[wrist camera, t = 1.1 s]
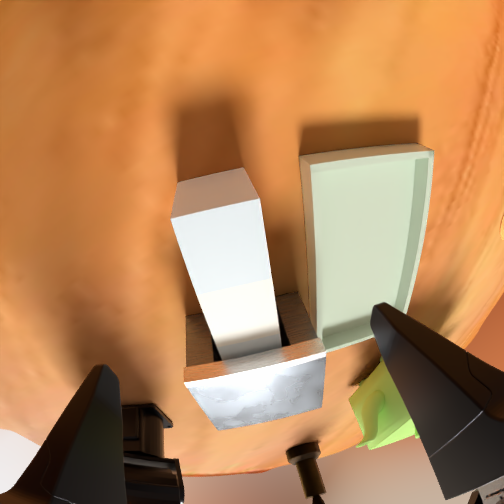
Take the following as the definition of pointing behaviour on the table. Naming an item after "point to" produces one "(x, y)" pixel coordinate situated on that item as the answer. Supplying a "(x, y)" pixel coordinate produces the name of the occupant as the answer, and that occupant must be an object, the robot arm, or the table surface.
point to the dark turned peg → (308, 470)
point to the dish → (363, 234)
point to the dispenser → (257, 371)
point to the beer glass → (502, 229)
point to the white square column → (228, 260)
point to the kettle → (381, 410)
